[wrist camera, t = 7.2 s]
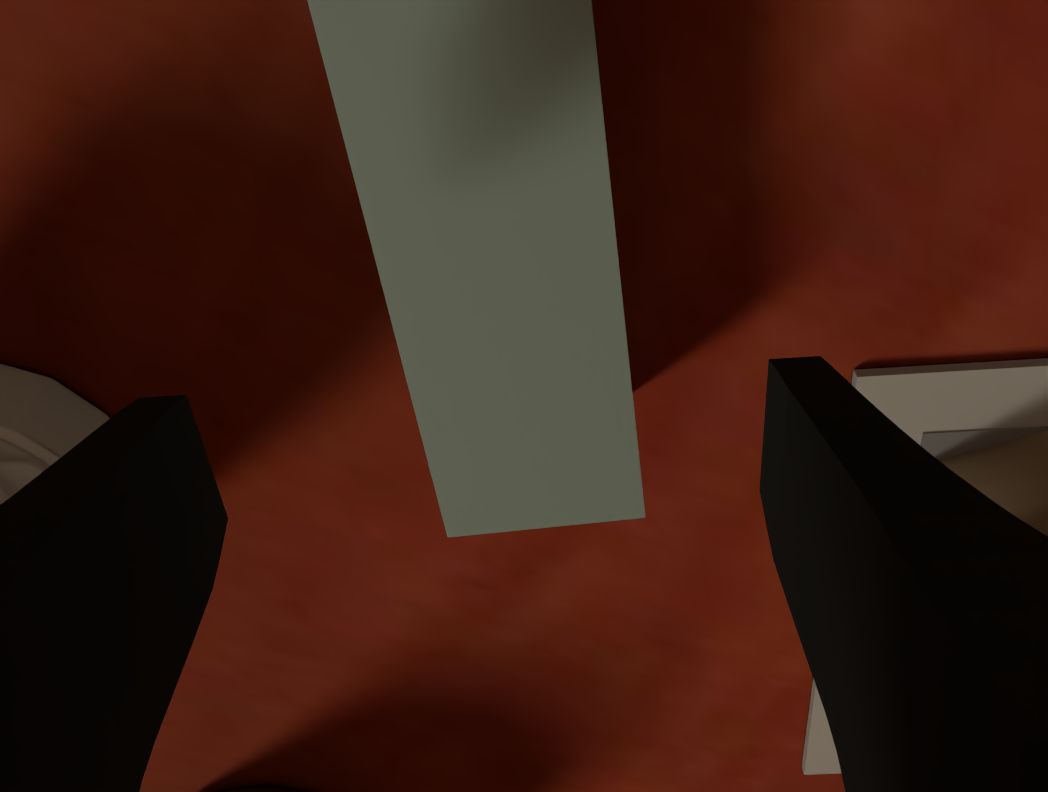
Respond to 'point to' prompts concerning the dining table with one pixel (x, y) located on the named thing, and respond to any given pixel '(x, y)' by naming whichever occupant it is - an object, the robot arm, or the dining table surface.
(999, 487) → the block
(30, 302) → the dining table surface
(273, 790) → the mug
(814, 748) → the mat
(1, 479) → the white cup
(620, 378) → the beam
